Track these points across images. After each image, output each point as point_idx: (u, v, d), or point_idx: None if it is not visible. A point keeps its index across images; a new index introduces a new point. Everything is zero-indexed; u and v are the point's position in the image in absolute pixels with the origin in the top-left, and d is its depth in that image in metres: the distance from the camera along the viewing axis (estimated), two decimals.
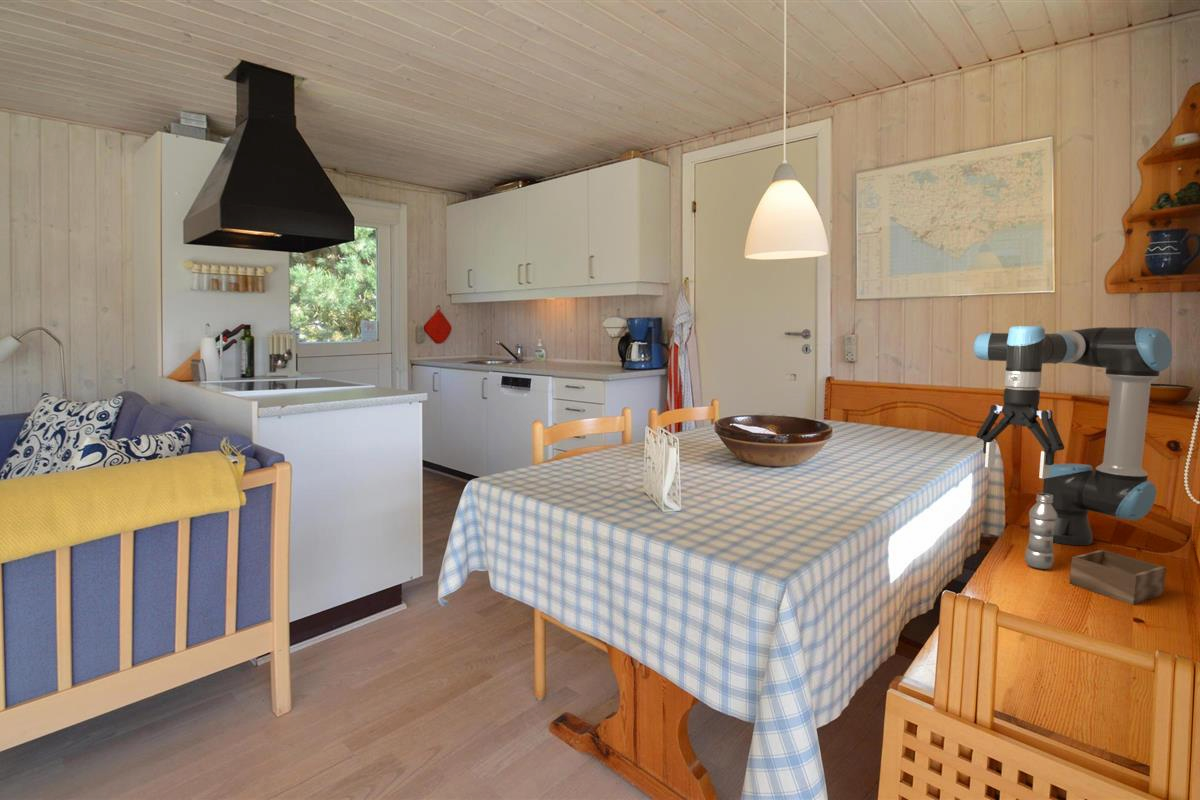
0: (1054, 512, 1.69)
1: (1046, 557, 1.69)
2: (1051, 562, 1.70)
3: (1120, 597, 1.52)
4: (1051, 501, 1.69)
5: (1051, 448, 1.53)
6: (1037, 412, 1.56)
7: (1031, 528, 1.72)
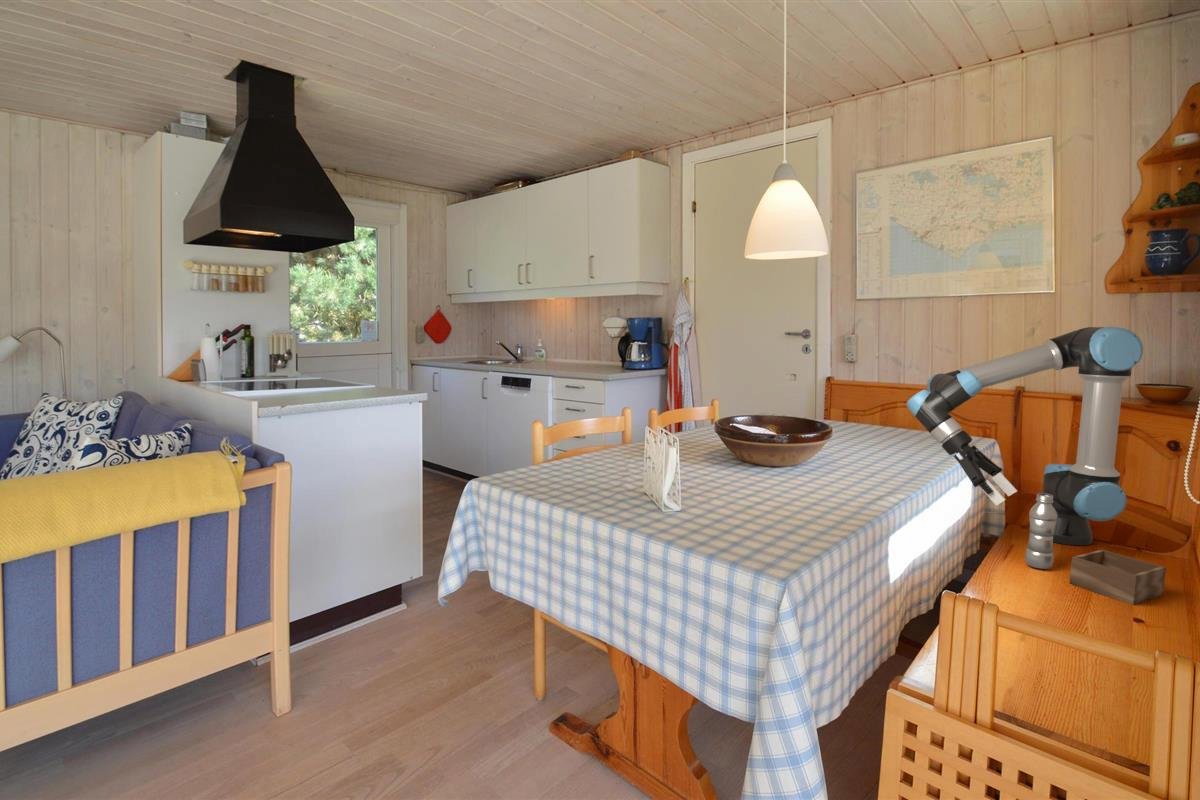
0: (1054, 512, 1.69)
1: (1046, 557, 1.69)
2: (1051, 562, 1.70)
3: (1120, 597, 1.52)
4: (1051, 501, 1.69)
5: None
6: None
7: (1031, 528, 1.72)
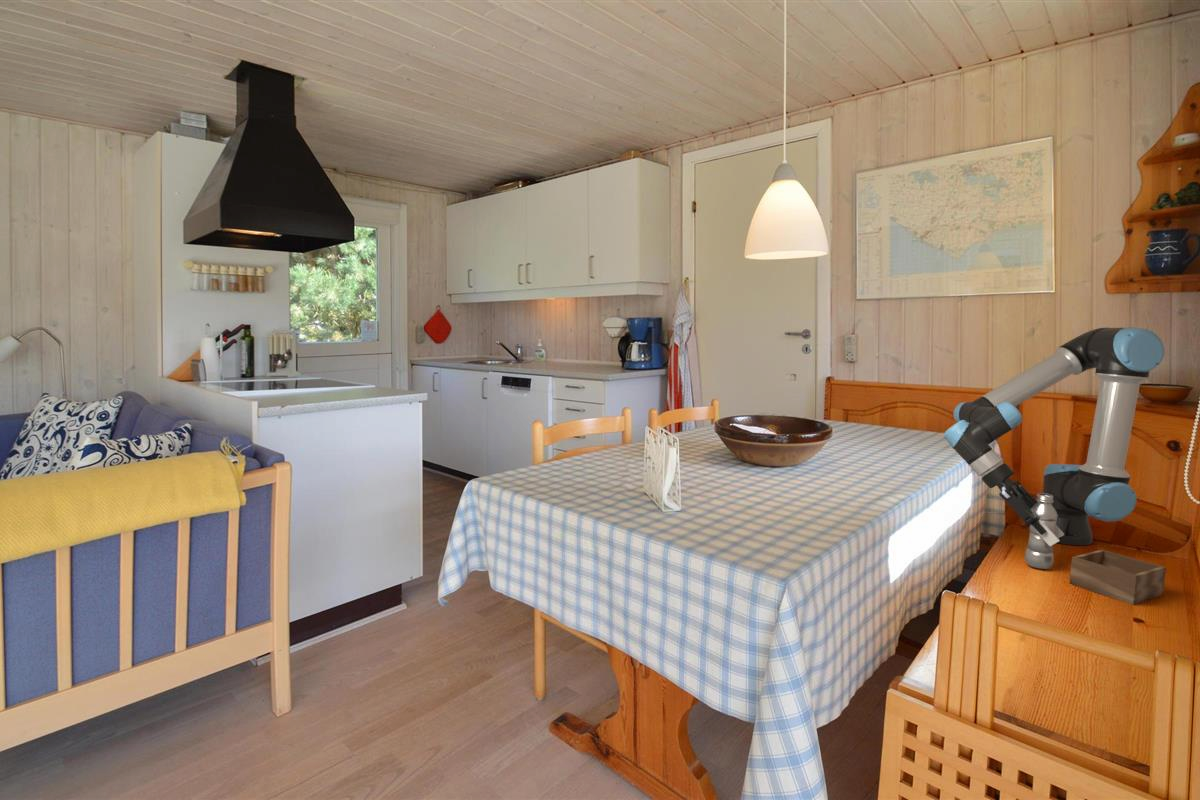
0: (1054, 512, 1.69)
1: (1046, 557, 1.69)
2: (1051, 562, 1.70)
3: (1120, 597, 1.52)
4: (1051, 501, 1.69)
5: None
6: (1003, 491, 1.73)
7: (1031, 528, 1.72)
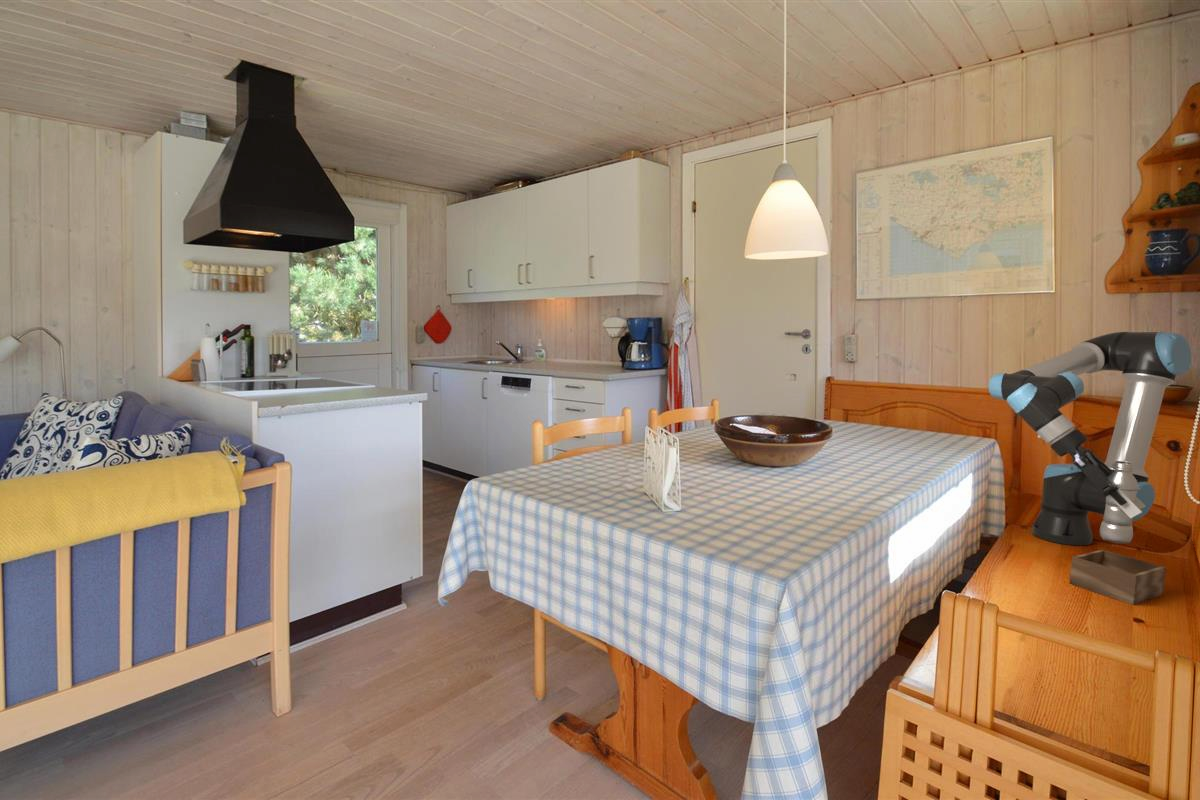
0: (1135, 481, 1.53)
1: (1125, 531, 1.54)
2: (1131, 536, 1.54)
3: (1120, 597, 1.52)
4: (1131, 469, 1.54)
5: None
6: None
7: (1108, 499, 1.57)
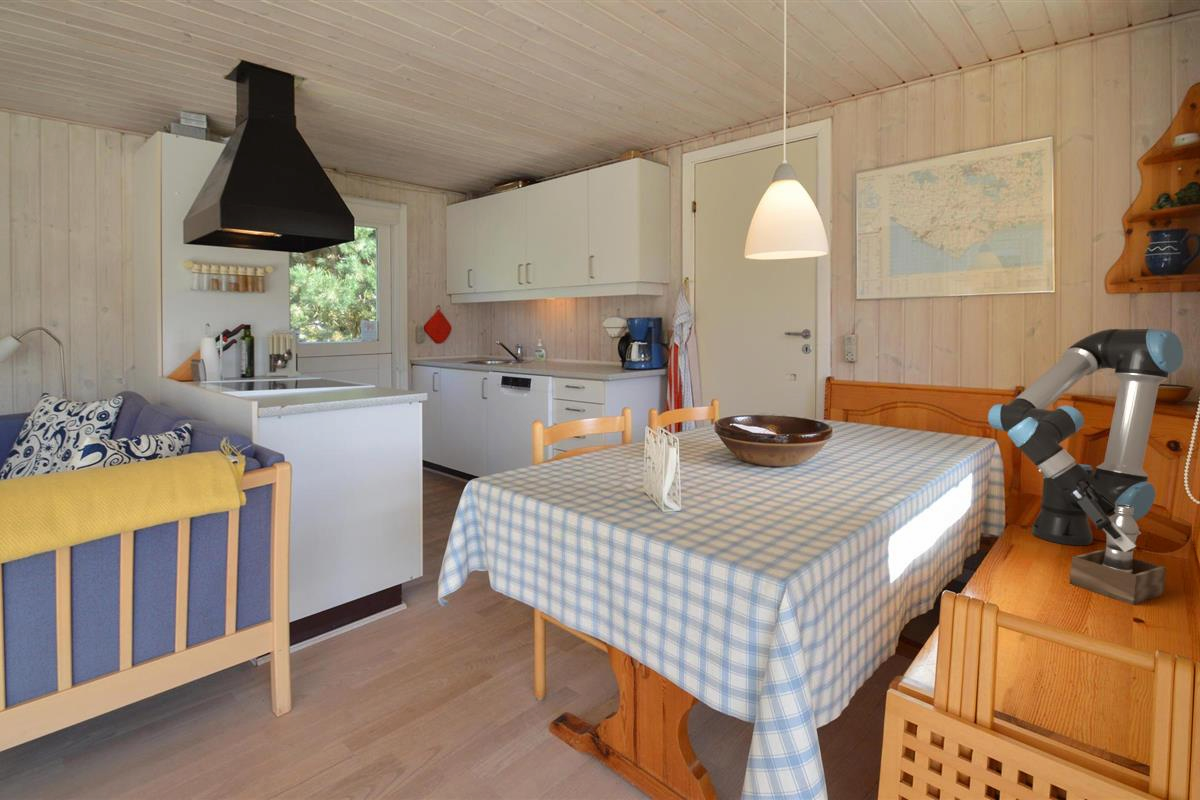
0: (1135, 525, 1.55)
1: None
2: None
3: (1120, 597, 1.52)
4: (1132, 513, 1.55)
5: None
6: None
7: (1108, 542, 1.58)
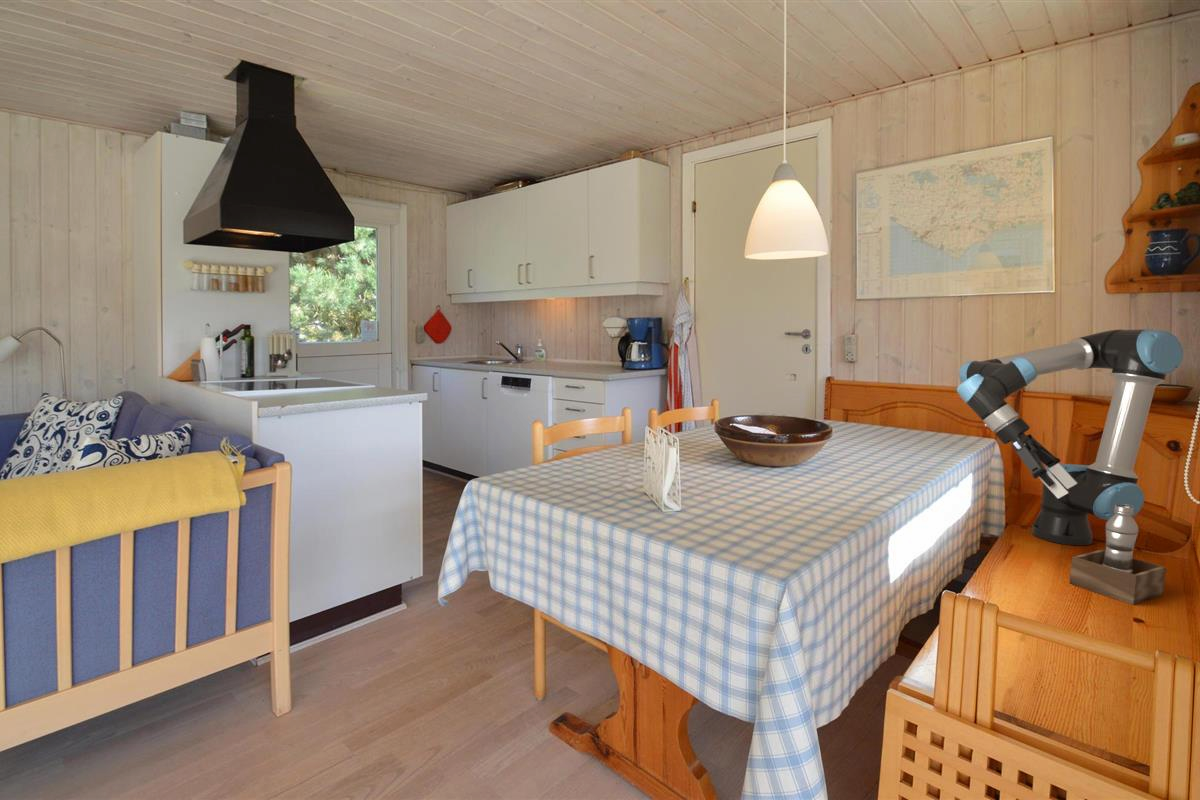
0: (1135, 525, 1.55)
1: None
2: None
3: (1120, 597, 1.52)
4: (1131, 513, 1.55)
5: None
6: None
7: (1108, 542, 1.58)
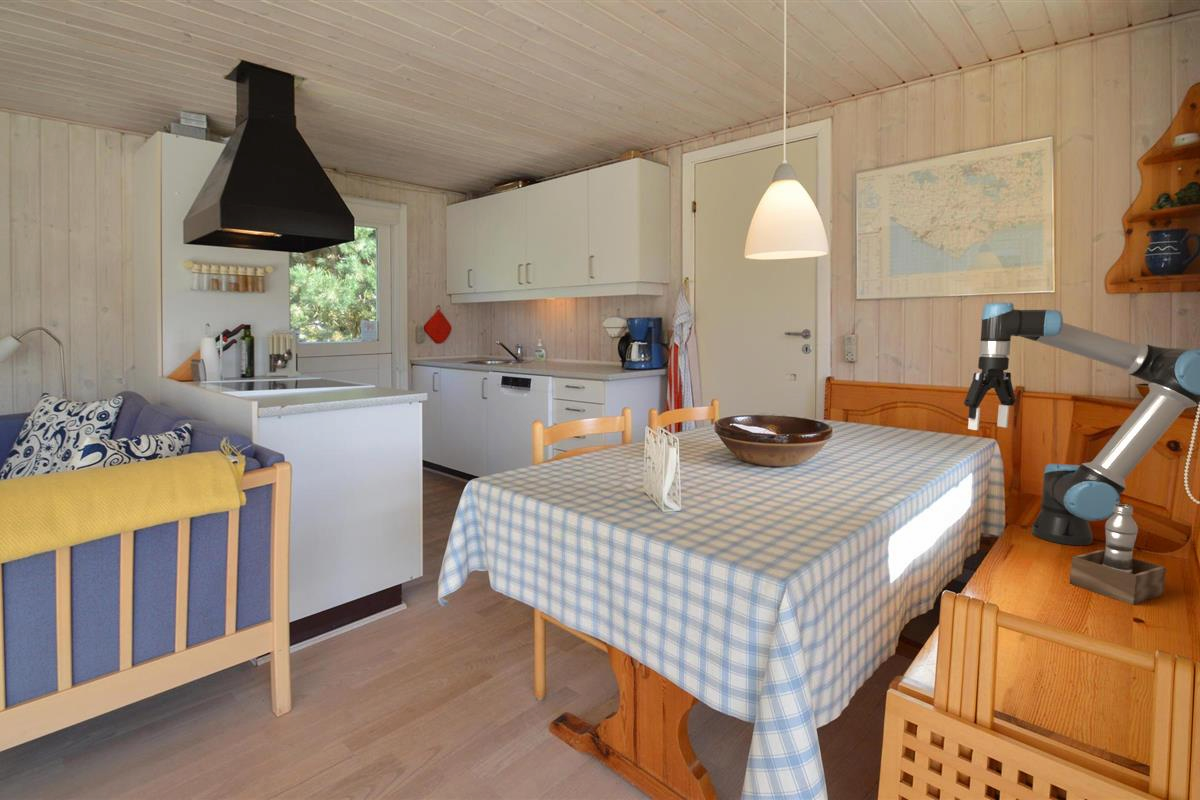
0: (1134, 525, 1.55)
1: None
2: None
3: (1120, 597, 1.52)
4: (1131, 513, 1.55)
5: None
6: None
7: (1108, 542, 1.58)
